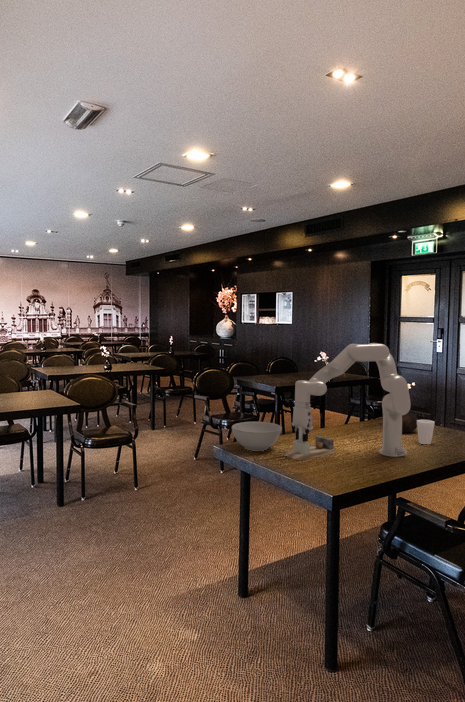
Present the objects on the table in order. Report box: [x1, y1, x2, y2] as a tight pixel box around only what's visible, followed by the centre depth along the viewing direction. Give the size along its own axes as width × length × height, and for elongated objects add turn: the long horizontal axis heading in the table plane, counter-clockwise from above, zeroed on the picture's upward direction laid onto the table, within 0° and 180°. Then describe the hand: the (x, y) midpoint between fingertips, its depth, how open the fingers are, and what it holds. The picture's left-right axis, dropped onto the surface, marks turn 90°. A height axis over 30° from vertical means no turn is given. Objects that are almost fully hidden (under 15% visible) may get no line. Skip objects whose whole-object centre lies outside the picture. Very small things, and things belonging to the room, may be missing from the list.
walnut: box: [315, 441, 323, 449], centre depth 261 cm, size 4×4×3 cm
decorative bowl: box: [231, 421, 283, 452], centre depth 266 cm, size 27×27×12 cm
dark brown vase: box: [402, 411, 419, 434], centre depth 311 cm, size 18×18×28 cm
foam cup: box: [416, 419, 436, 445], centre depth 280 cm, size 10×9×13 cm
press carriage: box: [292, 426, 311, 454], centre depth 252 cm, size 9×4×15 cm, turn 37°
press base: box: [282, 435, 337, 462], centre depth 256 cm, size 12×26×7 cm, turn 127°
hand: (301, 439), depth 252 cm, fingers open, 4 cm apart
